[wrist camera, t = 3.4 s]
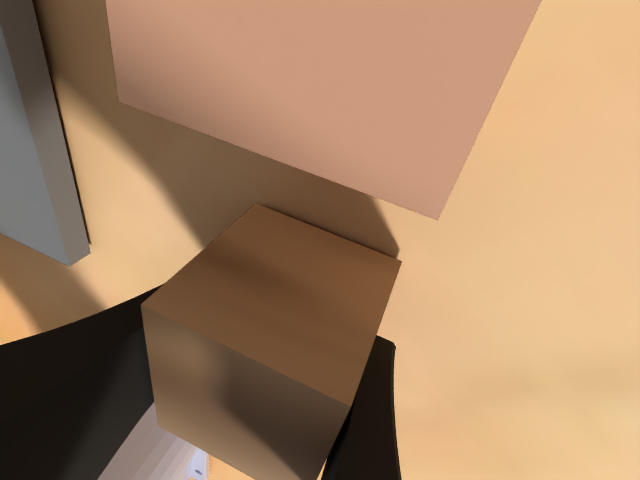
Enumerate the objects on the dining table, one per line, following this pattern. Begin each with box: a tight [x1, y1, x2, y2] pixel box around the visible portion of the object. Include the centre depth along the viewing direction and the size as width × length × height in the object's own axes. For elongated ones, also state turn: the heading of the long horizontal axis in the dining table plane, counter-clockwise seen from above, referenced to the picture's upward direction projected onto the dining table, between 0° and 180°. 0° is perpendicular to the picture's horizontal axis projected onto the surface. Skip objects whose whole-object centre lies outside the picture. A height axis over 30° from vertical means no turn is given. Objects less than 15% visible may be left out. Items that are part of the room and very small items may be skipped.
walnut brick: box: [141, 204, 402, 480], centre depth 10 cm, size 5×4×5 cm
